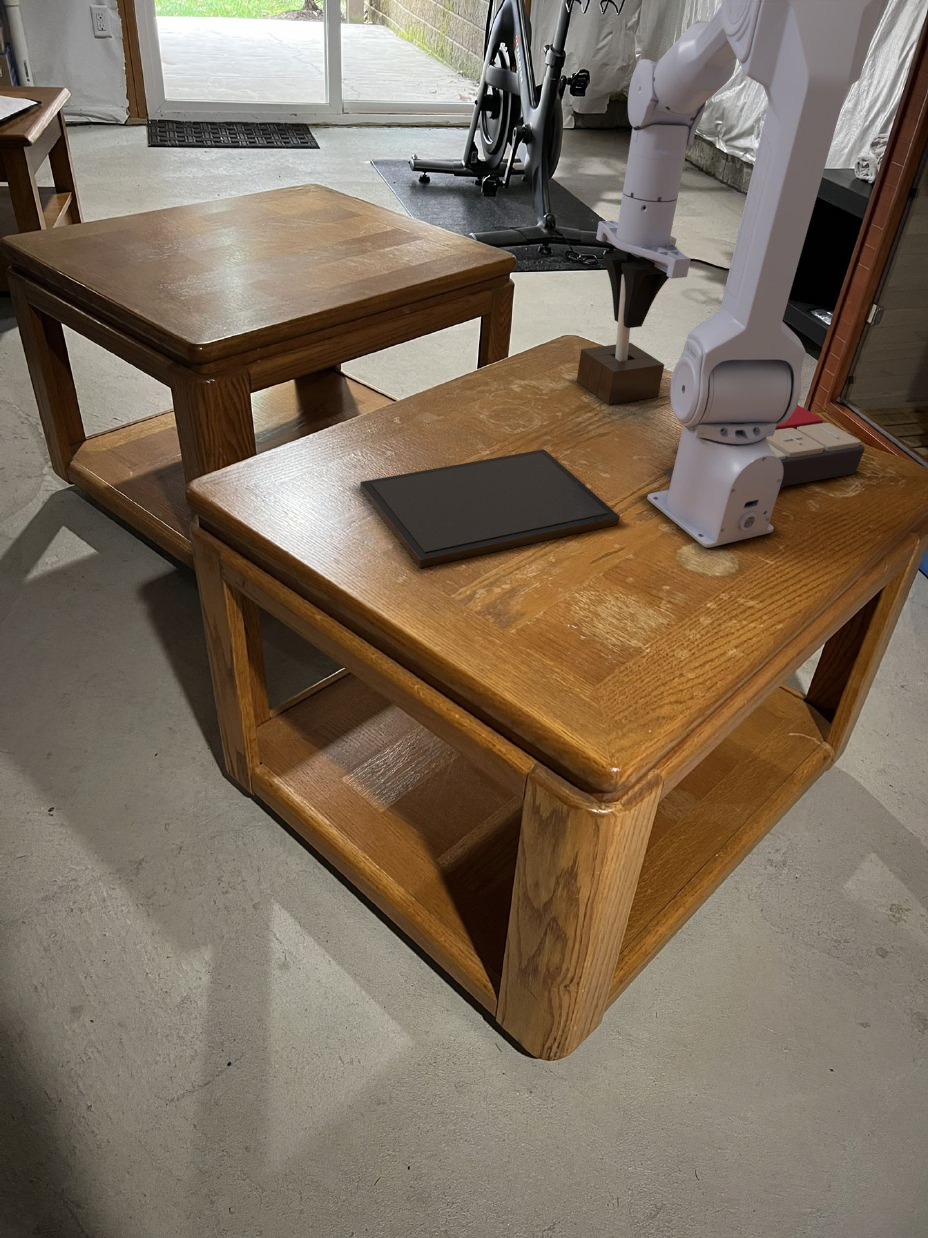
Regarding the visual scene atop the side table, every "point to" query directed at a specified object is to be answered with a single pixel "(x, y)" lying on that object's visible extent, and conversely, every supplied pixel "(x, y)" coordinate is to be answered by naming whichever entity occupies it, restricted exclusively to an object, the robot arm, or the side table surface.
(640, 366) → the pen stand
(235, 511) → the side table surface
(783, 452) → the grey box with panels
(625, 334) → the stylus
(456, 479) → the tablet
